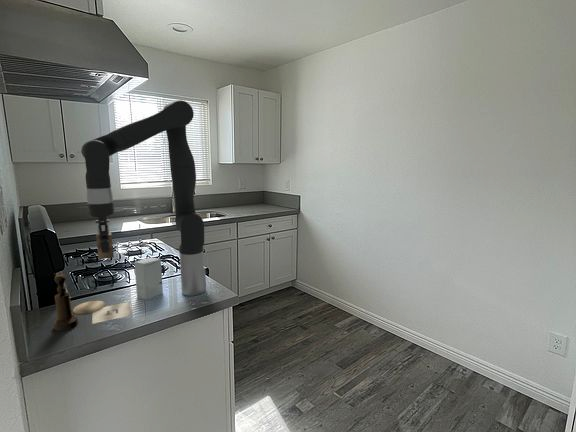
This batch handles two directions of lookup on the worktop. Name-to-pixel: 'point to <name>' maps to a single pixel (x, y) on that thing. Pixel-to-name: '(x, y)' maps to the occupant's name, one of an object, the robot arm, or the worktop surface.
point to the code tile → (111, 312)
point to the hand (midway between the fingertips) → (105, 250)
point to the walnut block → (100, 254)
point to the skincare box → (148, 278)
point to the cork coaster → (89, 307)
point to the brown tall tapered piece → (63, 307)
